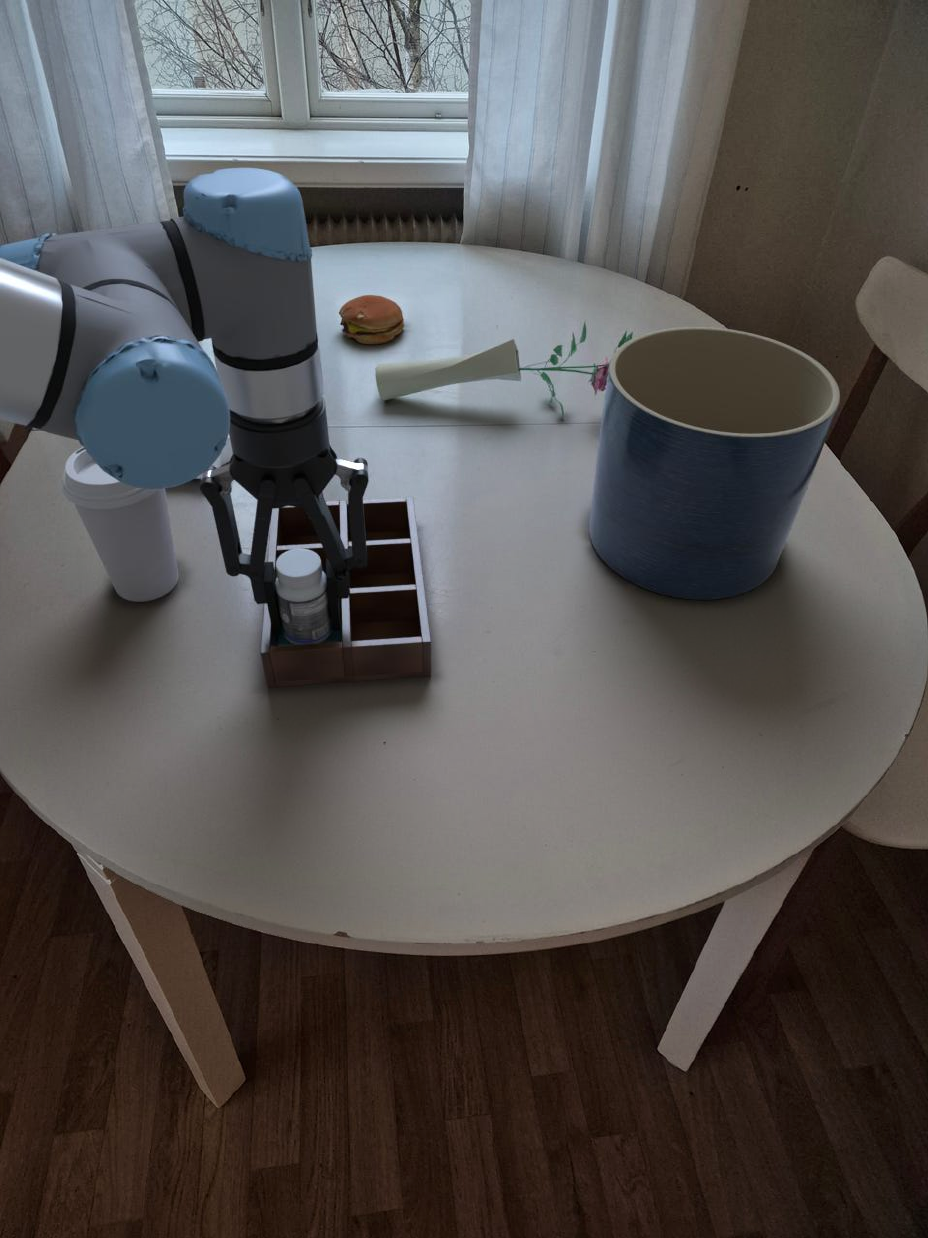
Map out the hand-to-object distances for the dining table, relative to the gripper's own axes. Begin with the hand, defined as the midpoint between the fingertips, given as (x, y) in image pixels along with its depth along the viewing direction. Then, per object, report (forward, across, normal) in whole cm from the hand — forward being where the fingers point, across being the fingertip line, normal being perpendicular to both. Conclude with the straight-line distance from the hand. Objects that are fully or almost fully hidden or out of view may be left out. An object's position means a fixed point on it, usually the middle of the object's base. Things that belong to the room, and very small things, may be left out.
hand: (307, 622), depth 81 cm
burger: (+4, -9, -69) cm, 70 cm away
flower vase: (+4, -26, -45) cm, 52 cm away
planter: (+4, -42, -14) cm, 44 cm away
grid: (+4, -4, -7) cm, 9 cm away
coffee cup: (+4, +17, -12) cm, 22 cm away
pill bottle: (+1, 0, 0) cm, 1 cm away
